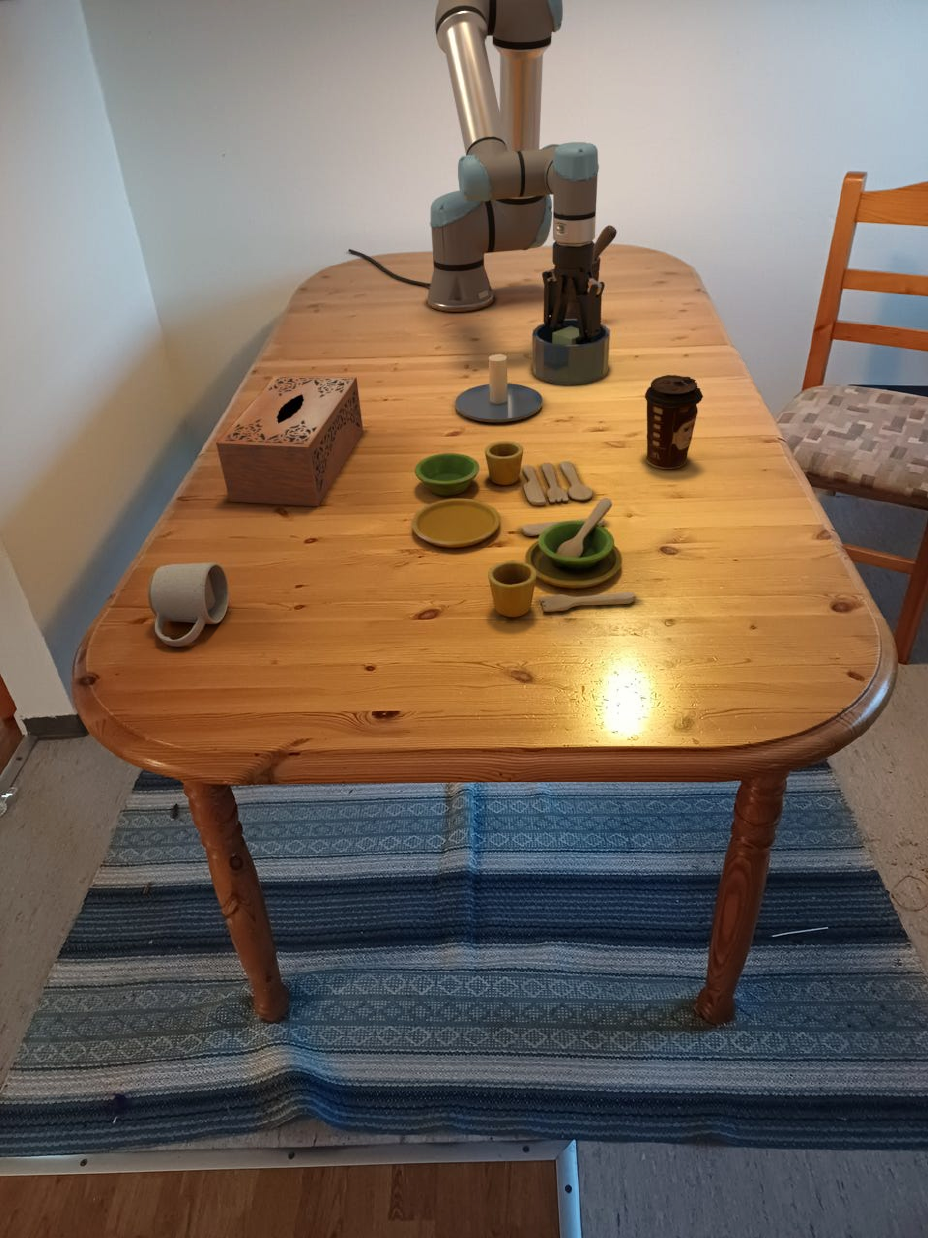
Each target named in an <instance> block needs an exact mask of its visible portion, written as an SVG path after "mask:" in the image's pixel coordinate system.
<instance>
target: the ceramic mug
mask: <svg viewBox="0 0 928 1238" xmlns="http://www.w3.org/2000/svg"><path fill="white" fill-rule="evenodd" d="M228 582H229V581H228V578H227V575H226V572H225V570H224V568H223V566H222V565H221V564H220V563H217V562H211V561H210V562H194V563H193V562H192V563H191V562H190V563H170V564H165V565H161V566H159V567H157V568H156V569H154V571H153V572H152V574H151V575H150V577H149V580H148V584H147V592H146V593H147V601H148V606H149V608H150V611H151V612H152V613H153V615H155V617H156V618H155V622H154V631H155V633H156V635H157V637H158V638H159V640H161V641H162V643H164V644H165V645H166V646H169V647H174V648H175V647H177V648H181V647H185V646H188V645H190V644H191V643H193V642H195V640H196V639H198V637H199V636H200V634H201V632H202V631H203V630H204V627H205V625H217V624H219V623H220V622H221V621H222V620H223V619H224V617H225V615H226V613H227V610H228V607H229V600H230V599H229V598H230V592H229V591H230V589H229V588H230V587H229V583H228ZM165 621H167V622H175V623H192V624H194V625H193V626H192V628H191V630H190V631H189V632H187V634H185V635H183V636H182V637H180V638H177V639H171V637H169V636H166V635H165V634H163V628H164V627H163V626H164V622H165Z"/></svg>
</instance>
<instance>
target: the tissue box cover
mask: <svg viewBox="0 0 928 1238" xmlns="http://www.w3.org/2000/svg"><path fill="white" fill-rule="evenodd" d="M360 402H361V401H360V394H359V387H358V379H357V377H354V376H321V375H320V376H319V375H285V374H283V375H282V374H275V375H274V376H273V378H271V379H270V380H269V382H268V383H267V384H266V385H265V386H264V387H263V388H262V389H261V391H260V392H259V393H258V394H257V396H255V398H254V399H253V400H252V401H251V403H249V404H248V406H246V408H245V409H244V410H243V411H242V412H241V414H240V415H239V416H238V417H237V418H236V420H235V421H234V422H233V423H232V424H231V425H230V426H229V428H227V430H226V431H225V432H224V433H223V435H221V436H220V437H219V439H218V440H216V442H215V444H216V445H215V446H216V449H217V453H218V457H219V462H220V465H221V466H220V467H221V471H222V475H223V479H224V483H225V487H226V492H227V496H228V499H229V502H231V503H247V504H248V503H251V504H266V505H267V504H268V505H289V506H304V507H305V506H306V507H319V506H320V504H321V503H322V501H323V499H324V497H325V496H326V495H327V492H328V491H329V490H330V488H331V486H332V484H333V483H334V481H335V480H336V478H337V476H338V474H339V473H340V472H341V470H342V468H343V466H344V465H345V463H346V461H347V459H348V458H349V457H350V456H351V453H352V451H353V450H354V448H355V447H356V445H357V443H358V442H359V440H360V438H361V437H362V435H363V434H364V426H363V417H362V409H361V403H360Z"/></svg>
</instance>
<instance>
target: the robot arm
mask: <svg viewBox="0 0 928 1238" xmlns="http://www.w3.org/2000/svg"><path fill="white" fill-rule="evenodd" d="M435 9H436V10H435V16H434V29H435V30H434V31H435V35H436V36H435V37H436V42H437V45H438V47H439V49H440V50H441V51H442V52H443V53H444V54H445V58H446V63H447V68H448V73H449V78H450V83H451V87H452V92H453V97H454V103H455V108H456V112H457V113H456V114H457V117H458V122H459V123H458V124H459V127H460V133H461V138H462V141H463V147H464V153H465V155H462V156H461V157H460V158H459V159H458V162H457V163H458V164H457V179H458V187H459V190H454V191H451V192H448V193H445V194H442V195H440V196H439V197H437V198H436V199H434V200H433V201H432V203H431V205H430V220H429V221H430V222H429V226H430V227H431V243H432V244H431V245H432V246H431V247H432V263H433V271H432V275H431V281H430V283H429V282H424V281H418V280H413V279H410V278H406V277H403V276H400V275H398V274H396V273H394V272H392V271H390V270H389V269H387V268H386V267H384V266H383V265H382V264H381V263H379V262H377V261H376V260H375V259H374V258H372V257H371V256H369V255H367V254H364V253H362V252H361V251H358V250H354V249H351V248H349V249H348V250H347V251H348V252H349V253H351V254H354V255H357V256H360V257H362V258H364V259H366V260H368V261H369V262H371V263H373V264H374V265H375V266H377V267H378V268H379V269H380V270H381V271H383V272H384V273H386V274H388V275H389V276H391V277H393V278H395V279H397V280H400V281H402V282H405V283H408V284H412V285H415V286H416V285H417V286H421V287H427V288H429V289H428V293H427V304H428V306H429V307H430V308H431V309H434V310H437V311H441V312H448V313H465V312H473V311H478V310H481V309H483V308H486V307H488V306H490V305H491V304H493V302H494V291H493V288H492V286H491V283H490V279H489V276H488V273H487V271H486V267H485V254H492V253H502V252H514V251H528V250H530V249H538V248H541V247H542V246H543V245H544V244H545V243H546V242H547V241H548V238H549V236H550V232H551V228H552V239H553V241H554V242H553V243H552V255H551V258H552V260H551V261H552V264H553V265H554V267H553V268H551V269H547V270H546V271H543V272H542V273H541V276H542V282H543V324H545V325H549V326H550V328H551V330H552V338H553V332H556V331H559V330H561V327H563V326H565V325H566V324H565V323H564V320H565V316H566V311H567V307H568V302H569V298H570V295H571V297H572V301H573V302H574V304H575V310H576V317H577V323H578V329H579V336H580V337H577V338H576V345H579V344H587V343H591V338H593V337H595V336H598V335H600V332H601V324H602V300H603V293H604V290H605V286H606V285H605V282H604V281H598V282H597V281H596V280H594V279H593V275H592V271H591V267H592V264H593V262H594V250H595V243H596V242H594V241H593V240H594V239H596V221H597V220H596V219H597V215H596V214H597V197H598V196H597V194H598V175H599V170H600V165H599V150H598V148H597V146H596V145H595V144H593V143H591V142H585V141H584V142H583V141H572V142H571V141H570V142H564V143H562V144H558V143H551V144H547V145H546V146H544V147H542V148H540V141H541V118H542V117H541V115H542V92H543V91H542V90H543V70H544V69H543V68H544V65H543V64H544V54H545V52H546V51H547V50H548V49H549V48H550V46H551V45H552V36H553V35H552V34H553V33H556V32H559V31H560V29H561V28H562V24H563V23H562V22H563V17H564V16H563V14H564V12H563V11H564V8H563V0H438V2H437V5H436V8H435ZM488 37H492V46H493V47H494V48H495V50H496V51H497V52H498V54H499V103H498V99H497V94H496V88H495V84H494V79H493V75H492V70H491V65H490V61H489V56H488V52H487V46H486V40H487V38H488ZM588 286H589V289H588ZM581 294H582V295H581ZM578 295H580V296H578ZM564 324H565V325H564ZM562 329H564V328H562ZM585 331H586V332H585Z"/></svg>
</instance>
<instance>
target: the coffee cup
mask: <svg viewBox="0 0 928 1238" xmlns="http://www.w3.org/2000/svg"><path fill="white" fill-rule="evenodd" d="M646 389H647V390H646V391H645V394H644V399H645V401H646V457H645V461H646V464H649V465H650V466H652V467H654V468H656V469H661V470H673V469H678V468H680V467H682V466H684V465H685V464H686V463H687V461H688V456H689V455H688V454H689V449H690V447H691V444H692V443H691V442H692V439H693V435H694V430H695V425H696V420H697V417H698V411H699V409H698V407H697V405H698V404H699V403H701V402H702V400H703V398H704V395H703V393H702V391H701V388H700V387H699V386H698V382H697V380H696V379H694V378H691V377H690V376H683V375H677V374H666V375H662V376H659V377H658V376H657V377H656V378H654V379H653V380H652V381H651V382H650V386H649V387H647V388H646Z"/></svg>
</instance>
